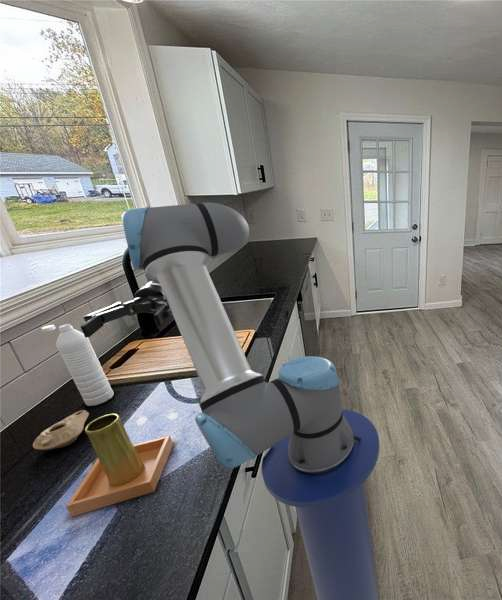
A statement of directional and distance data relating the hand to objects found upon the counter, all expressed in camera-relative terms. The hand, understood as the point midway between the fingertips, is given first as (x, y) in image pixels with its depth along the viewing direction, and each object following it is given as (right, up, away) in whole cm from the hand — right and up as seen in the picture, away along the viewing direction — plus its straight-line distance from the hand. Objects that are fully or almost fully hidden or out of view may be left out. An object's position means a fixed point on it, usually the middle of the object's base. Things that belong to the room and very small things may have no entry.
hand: (122, 325), depth 71 cm
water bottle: (-29, -25, +24) cm, 45 cm away
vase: (+3, -32, -2) cm, 33 cm away
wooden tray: (+3, -33, -2) cm, 33 cm away
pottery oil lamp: (-21, -30, +10) cm, 38 cm away
